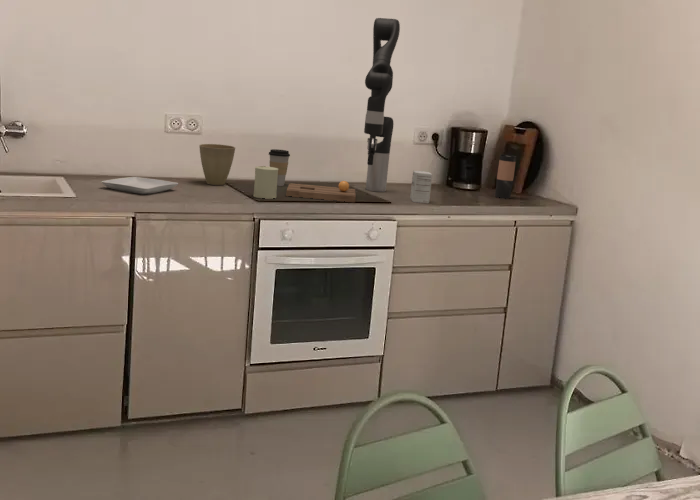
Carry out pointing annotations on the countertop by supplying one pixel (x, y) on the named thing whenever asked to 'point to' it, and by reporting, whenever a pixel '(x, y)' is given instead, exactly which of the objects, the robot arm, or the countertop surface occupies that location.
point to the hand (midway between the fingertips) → (369, 164)
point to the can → (265, 182)
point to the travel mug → (505, 176)
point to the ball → (343, 186)
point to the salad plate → (139, 185)
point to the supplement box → (421, 186)
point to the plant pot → (216, 162)
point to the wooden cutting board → (320, 192)
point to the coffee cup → (279, 163)
